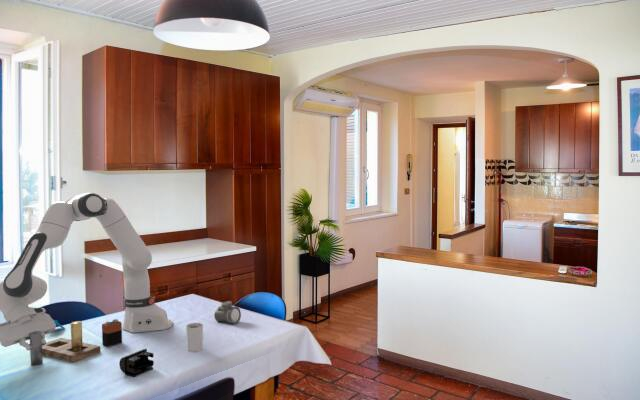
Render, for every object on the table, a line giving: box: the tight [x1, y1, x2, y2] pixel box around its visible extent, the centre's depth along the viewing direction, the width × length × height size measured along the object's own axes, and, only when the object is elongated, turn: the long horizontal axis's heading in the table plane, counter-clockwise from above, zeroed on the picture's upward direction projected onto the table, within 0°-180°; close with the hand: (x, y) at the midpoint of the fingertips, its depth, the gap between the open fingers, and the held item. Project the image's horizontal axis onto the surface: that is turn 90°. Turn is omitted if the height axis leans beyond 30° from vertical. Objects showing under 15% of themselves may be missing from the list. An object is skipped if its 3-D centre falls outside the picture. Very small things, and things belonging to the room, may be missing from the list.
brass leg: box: [70, 320, 84, 352], centre depth 197 cm, size 4×4×13 cm
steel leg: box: [29, 331, 44, 367], centre depth 189 cm, size 4×4×12 cm
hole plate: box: [42, 337, 101, 363], centre depth 200 cm, size 24×12×2 cm, turn 63°
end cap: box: [118, 348, 155, 378], centre depth 181 cm, size 10×7×7 cm
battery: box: [101, 318, 123, 348], centre depth 210 cm, size 4×7×10 cm, turn 142°
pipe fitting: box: [214, 300, 242, 325], centre depth 240 cm, size 12×8×10 cm
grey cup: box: [186, 322, 204, 353], centre depth 203 cm, size 7×7×10 cm
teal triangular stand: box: [53, 319, 66, 330], centre depth 228 cm, size 11×6×10 cm
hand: (37, 346), depth 188 cm, fingers closed on steel leg, 4 cm apart
